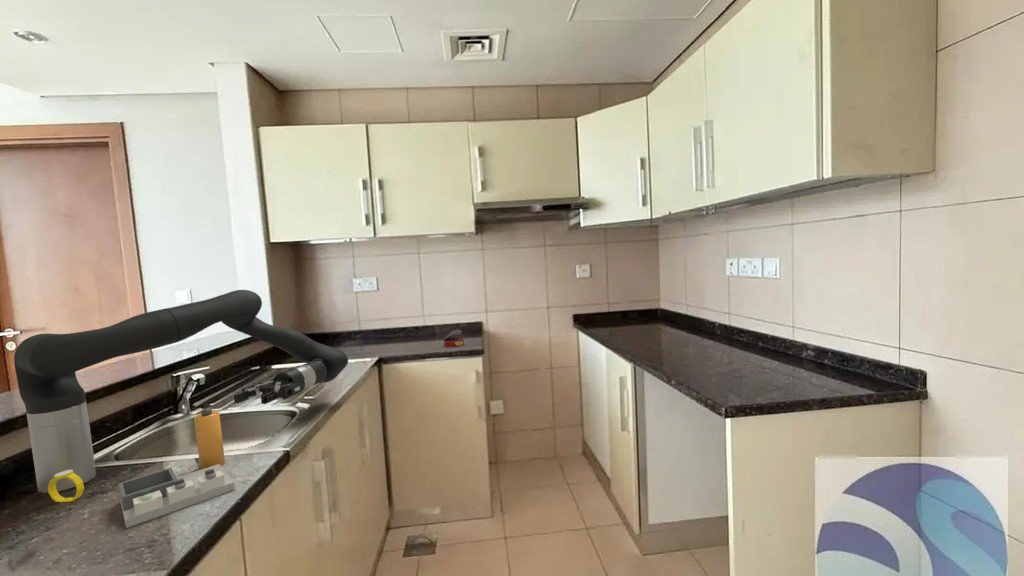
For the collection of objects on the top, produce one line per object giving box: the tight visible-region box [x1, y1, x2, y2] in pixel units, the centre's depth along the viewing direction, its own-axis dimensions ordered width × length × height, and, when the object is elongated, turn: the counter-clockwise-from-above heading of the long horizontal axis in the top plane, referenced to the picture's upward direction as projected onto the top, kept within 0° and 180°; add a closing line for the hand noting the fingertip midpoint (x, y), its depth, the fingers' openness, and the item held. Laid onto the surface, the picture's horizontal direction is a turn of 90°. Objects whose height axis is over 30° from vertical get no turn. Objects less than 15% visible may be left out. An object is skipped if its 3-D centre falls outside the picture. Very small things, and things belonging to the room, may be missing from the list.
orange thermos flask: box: [193, 407, 226, 470], centre depth 104 cm, size 5×5×13 cm
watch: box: [47, 470, 85, 503], centre depth 92 cm, size 6×3×6 cm, turn 91°
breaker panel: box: [118, 464, 236, 529], centre depth 91 cm, size 13×17×4 cm
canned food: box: [443, 329, 465, 348], centre depth 229 cm, size 11×10×10 cm
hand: (248, 399), depth 115 cm, fingers open, 8 cm apart
